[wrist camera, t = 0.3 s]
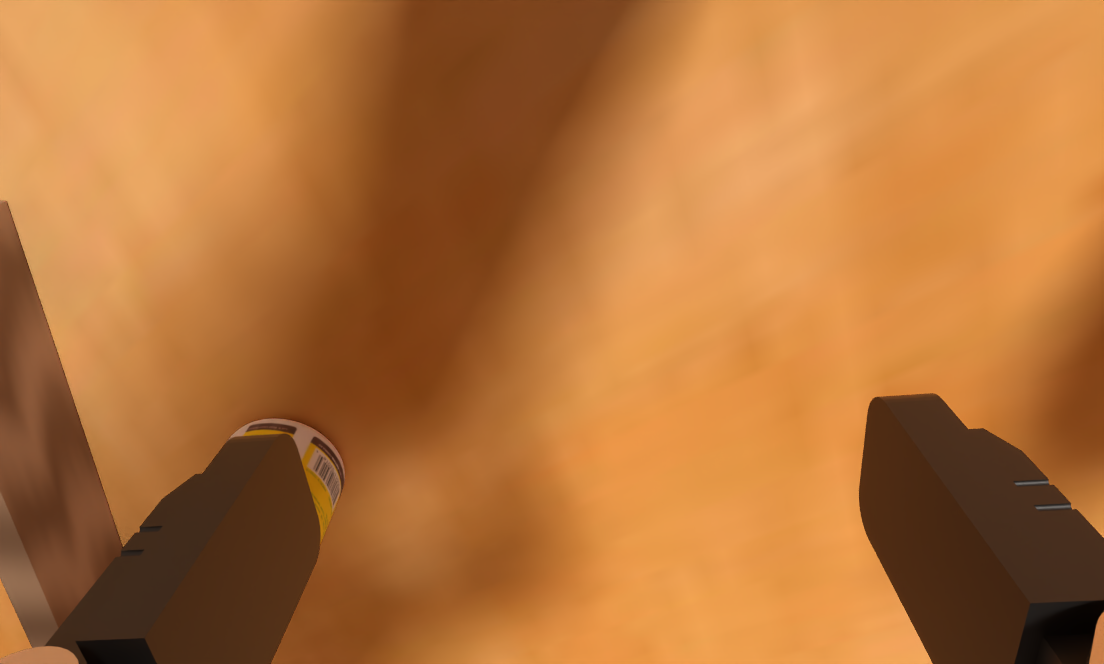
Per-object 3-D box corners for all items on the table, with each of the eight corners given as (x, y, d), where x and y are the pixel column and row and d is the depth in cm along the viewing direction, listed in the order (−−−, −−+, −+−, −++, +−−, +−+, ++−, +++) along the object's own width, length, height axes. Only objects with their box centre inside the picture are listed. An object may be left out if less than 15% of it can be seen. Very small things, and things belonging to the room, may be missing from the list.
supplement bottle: (207, 468, 34) (74, 662, 25) (261, 390, 31) (136, 573, 22) (313, 525, 35) (223, 727, 26) (371, 454, 33) (295, 649, 24)
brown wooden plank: (-36, 198, 27) (-152, 249, 23) (6, 201, 27) (-102, 252, 23) (119, 625, 39) (61, 712, 35) (148, 626, 39) (94, 714, 35)
